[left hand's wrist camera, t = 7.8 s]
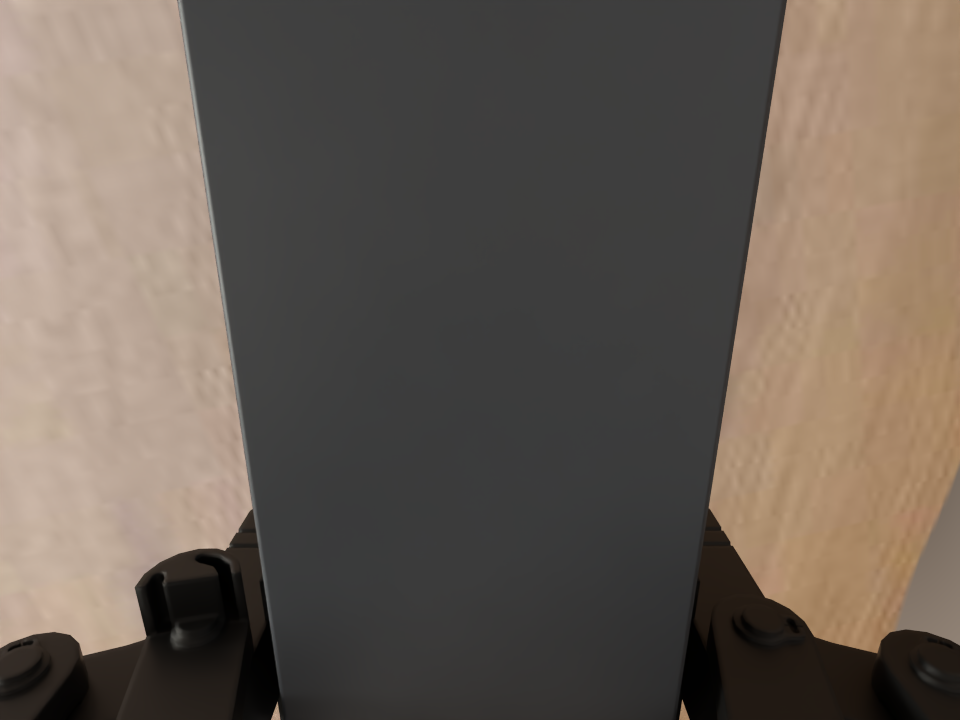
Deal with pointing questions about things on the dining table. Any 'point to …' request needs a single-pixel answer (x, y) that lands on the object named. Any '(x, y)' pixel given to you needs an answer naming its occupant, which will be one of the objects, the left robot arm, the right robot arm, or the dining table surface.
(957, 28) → the dining table surface
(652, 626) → the bar
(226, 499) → the dining table surface
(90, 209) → the dining table surface
